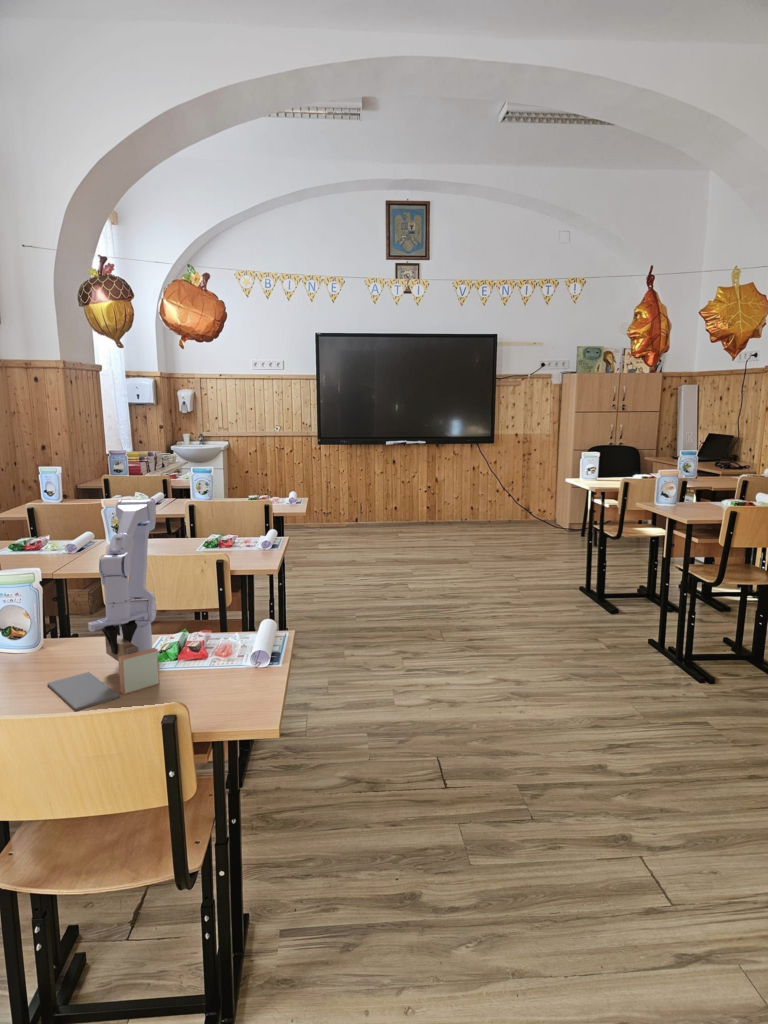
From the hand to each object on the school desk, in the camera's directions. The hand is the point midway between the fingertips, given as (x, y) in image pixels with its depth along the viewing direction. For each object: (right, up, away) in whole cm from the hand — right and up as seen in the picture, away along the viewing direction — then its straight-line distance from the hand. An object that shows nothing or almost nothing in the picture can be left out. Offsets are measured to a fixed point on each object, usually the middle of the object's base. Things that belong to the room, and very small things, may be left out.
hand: (120, 651), depth 167 cm
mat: (-6, -8, -9) cm, 13 cm away
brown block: (0, -2, 0) cm, 2 cm away
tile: (+8, -8, -7) cm, 13 cm away
